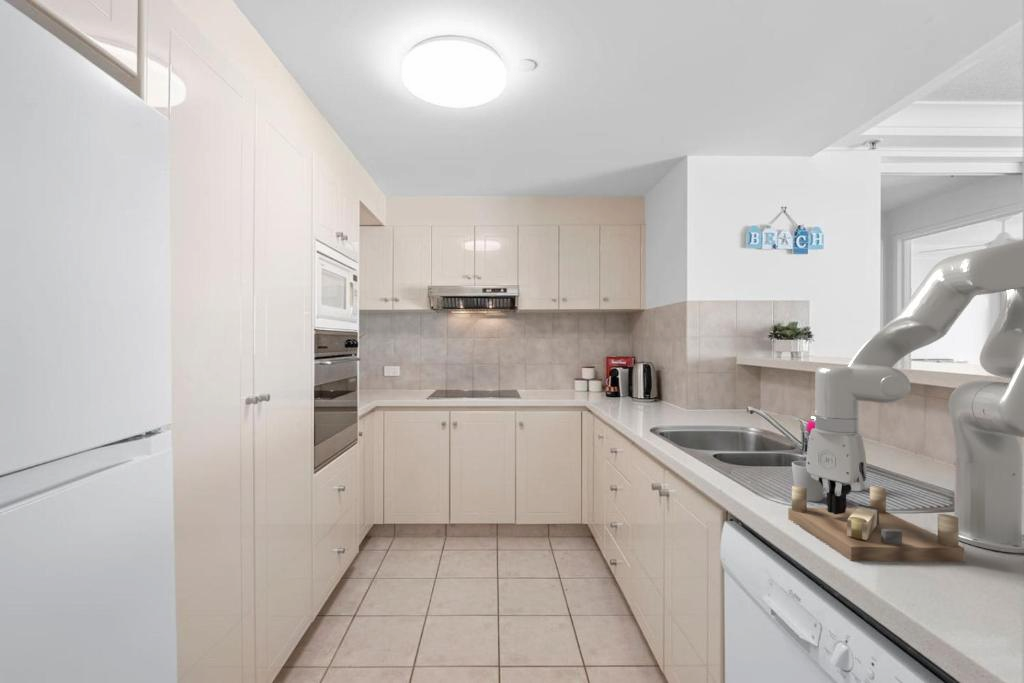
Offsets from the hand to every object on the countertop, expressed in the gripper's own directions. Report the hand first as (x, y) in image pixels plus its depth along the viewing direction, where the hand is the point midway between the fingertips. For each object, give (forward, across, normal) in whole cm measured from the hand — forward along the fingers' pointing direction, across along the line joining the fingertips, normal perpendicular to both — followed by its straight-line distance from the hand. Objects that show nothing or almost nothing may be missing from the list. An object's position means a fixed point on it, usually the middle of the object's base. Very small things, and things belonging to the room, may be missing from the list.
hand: (836, 512), depth 100 cm
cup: (+4, -17, +14) cm, 23 cm away
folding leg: (+1, +7, -2) cm, 7 cm away
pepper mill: (+4, -22, +26) cm, 34 cm away
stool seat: (+4, +5, +1) cm, 7 cm away
